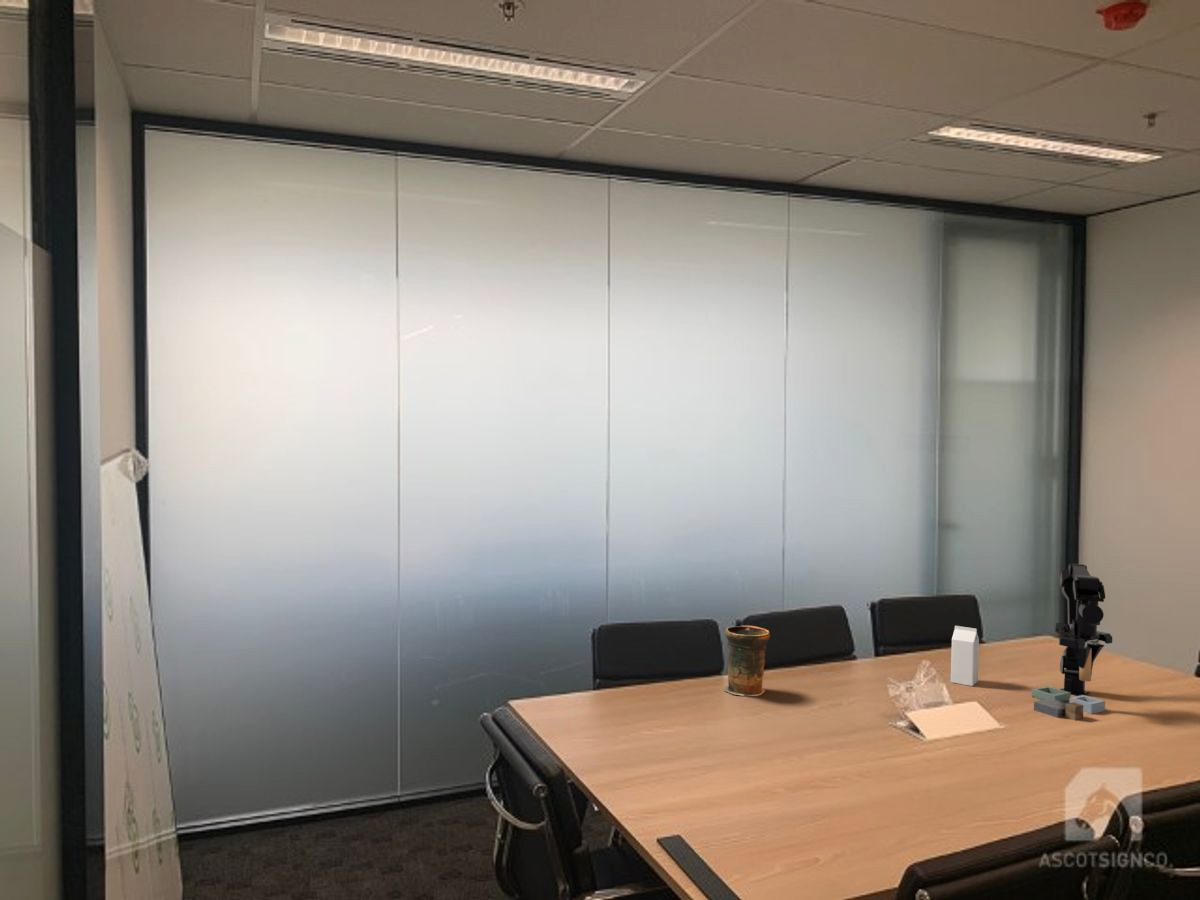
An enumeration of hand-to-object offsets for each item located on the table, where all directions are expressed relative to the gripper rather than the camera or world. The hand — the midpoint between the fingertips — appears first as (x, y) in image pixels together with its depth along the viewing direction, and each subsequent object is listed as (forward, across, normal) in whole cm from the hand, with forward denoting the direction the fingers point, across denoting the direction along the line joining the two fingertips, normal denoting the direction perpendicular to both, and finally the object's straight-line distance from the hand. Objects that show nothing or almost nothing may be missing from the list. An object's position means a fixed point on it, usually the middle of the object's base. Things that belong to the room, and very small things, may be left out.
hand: (1085, 667), depth 270 cm
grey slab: (+13, +13, -2) cm, 18 cm away
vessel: (+13, +85, -61) cm, 105 cm away
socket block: (+13, 0, +1) cm, 13 cm away
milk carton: (+13, +10, -36) cm, 40 cm away
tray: (+13, 0, -11) cm, 17 cm away
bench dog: (+13, +12, +4) cm, 18 cm away
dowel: (+4, 0, 0) cm, 4 cm away
